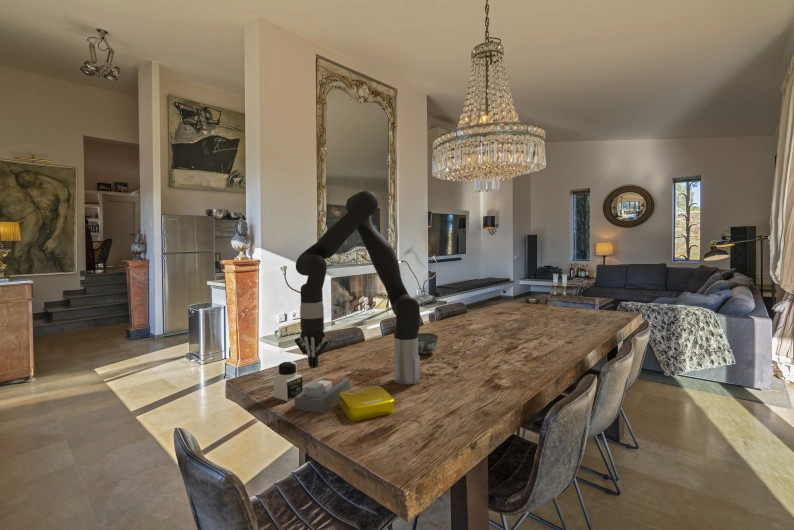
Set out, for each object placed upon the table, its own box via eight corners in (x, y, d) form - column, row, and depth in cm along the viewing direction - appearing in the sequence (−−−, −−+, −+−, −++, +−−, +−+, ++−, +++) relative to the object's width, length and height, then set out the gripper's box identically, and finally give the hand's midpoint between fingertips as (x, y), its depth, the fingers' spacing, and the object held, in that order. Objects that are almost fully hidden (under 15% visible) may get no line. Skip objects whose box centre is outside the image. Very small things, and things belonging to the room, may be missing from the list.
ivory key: (332, 391, 135) (332, 381, 135) (326, 396, 131) (325, 386, 131) (321, 389, 136) (321, 380, 136) (314, 394, 132) (314, 384, 132)
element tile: (351, 423, 117) (351, 407, 116) (338, 404, 130) (337, 390, 130) (396, 413, 123) (396, 398, 123) (379, 396, 137) (379, 383, 136)
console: (349, 389, 141) (349, 379, 141) (321, 413, 123) (321, 400, 122) (325, 386, 145) (325, 376, 145) (294, 408, 126) (294, 397, 126)
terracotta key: (340, 384, 141) (340, 375, 140) (334, 389, 136) (334, 379, 136) (329, 383, 142) (329, 373, 142) (323, 387, 138) (323, 377, 138)
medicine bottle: (287, 402, 132) (286, 367, 131) (273, 397, 135) (272, 364, 134) (303, 394, 138) (302, 361, 137) (289, 390, 141) (288, 358, 141)
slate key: (323, 393, 129) (323, 383, 129) (316, 399, 125) (316, 388, 125) (312, 392, 131) (311, 382, 130) (305, 397, 126) (304, 387, 126)
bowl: (443, 351, 189) (443, 335, 188) (430, 358, 178) (430, 341, 177) (418, 347, 196) (418, 331, 196) (405, 354, 185) (404, 337, 184)
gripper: (335, 314, 128) (336, 365, 129) (301, 312, 132) (302, 362, 133) (323, 318, 121) (325, 373, 122) (288, 316, 125) (289, 368, 126)
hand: (313, 367), depth 127 cm, fingers closed
